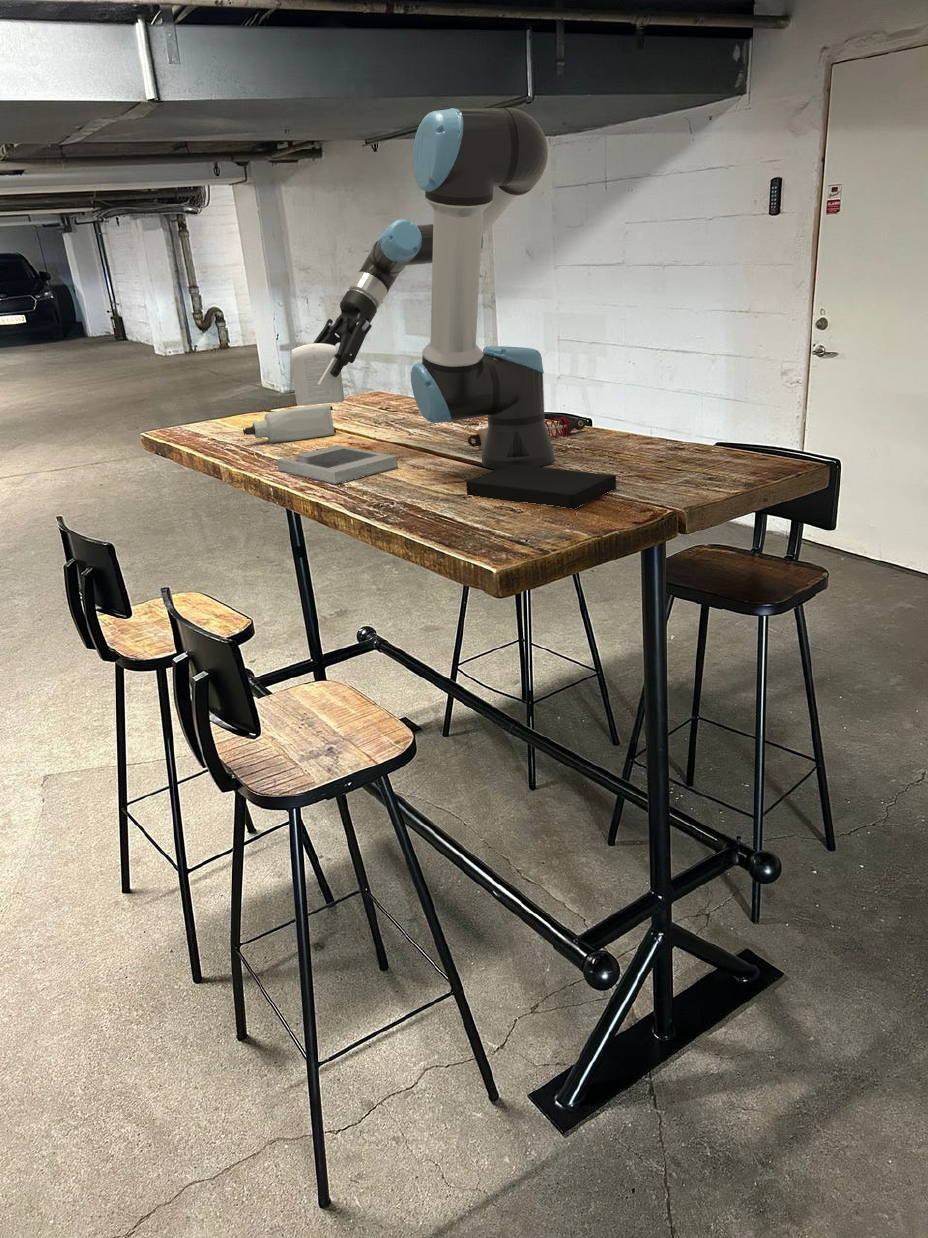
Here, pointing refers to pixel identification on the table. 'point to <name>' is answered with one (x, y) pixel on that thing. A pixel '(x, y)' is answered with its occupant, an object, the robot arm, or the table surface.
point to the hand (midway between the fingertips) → (311, 387)
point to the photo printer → (314, 374)
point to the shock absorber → (564, 421)
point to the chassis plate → (337, 464)
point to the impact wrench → (294, 424)
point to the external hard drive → (541, 485)
